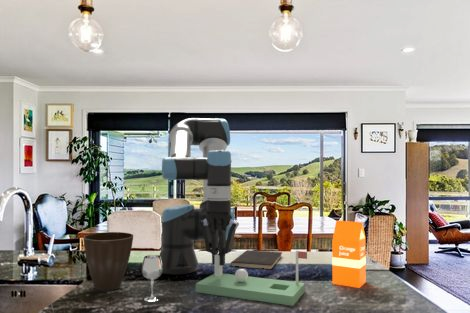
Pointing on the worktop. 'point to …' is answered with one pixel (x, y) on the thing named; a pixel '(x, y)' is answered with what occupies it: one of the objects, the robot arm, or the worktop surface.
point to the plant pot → (107, 258)
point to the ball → (241, 275)
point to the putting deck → (255, 287)
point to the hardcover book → (257, 259)
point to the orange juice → (349, 254)
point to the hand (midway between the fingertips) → (218, 275)
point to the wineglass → (152, 272)
